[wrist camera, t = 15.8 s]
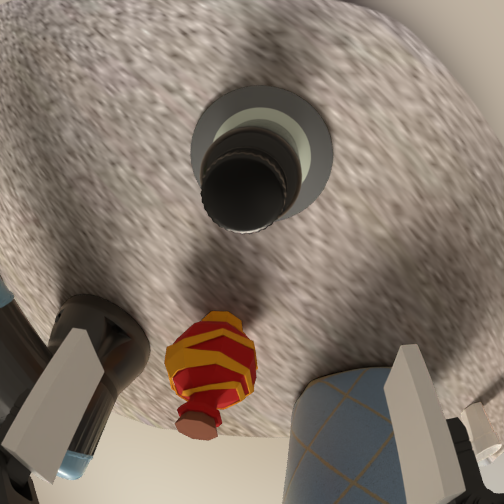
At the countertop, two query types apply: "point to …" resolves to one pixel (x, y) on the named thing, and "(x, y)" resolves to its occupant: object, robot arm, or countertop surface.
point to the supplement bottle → (250, 176)
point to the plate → (282, 112)
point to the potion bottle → (210, 372)
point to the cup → (480, 431)
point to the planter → (344, 443)
